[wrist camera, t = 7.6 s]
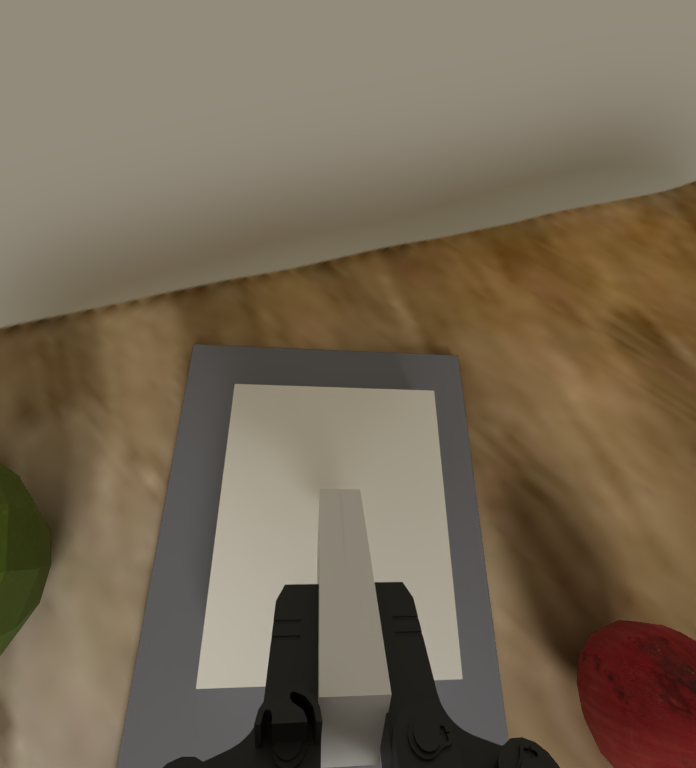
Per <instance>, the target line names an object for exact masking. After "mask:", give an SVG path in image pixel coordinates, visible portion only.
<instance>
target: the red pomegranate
mask: <svg viewBox="0 0 696 768" xmlns="http://www.w3.org/2000/svg"><path fill="white" fill-rule="evenodd" d="M577 686H578V691H579V697H580V702H581V708H582V712H583V715H584V718H585V721H586V723H587V725H588V727H589V729H590V731H591V733H592V735H593V737H594V739H595V741H596V743H597V746H598V748H599V750H600V752H601V753H602V755H603V756H604V757H605V758H606V759H607V760H608V761H609V763H610V764H611V765H612V766H613V767H614V768H696V641H695V640H693V639H691V638H689V637H688V636H686V635H684V634H682V633H681V632H678V631H676V630H673V629H671V628H668V627H666V626H663V625H657V624H649V623H642V622H634V621H622V620H618V621H616V622H614V623H612V624H610V625H608V626H606V627H604V628H602V629H599V630H597V631H596V632H594V633H593V634H592V635H590V636H589V638H588V640H587V642H586V644H585V646H584V647H583V649H582V651H581V653H580V655H579V660H578V672H577Z"/></svg>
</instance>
